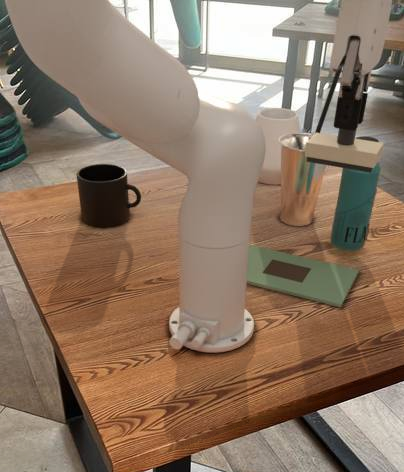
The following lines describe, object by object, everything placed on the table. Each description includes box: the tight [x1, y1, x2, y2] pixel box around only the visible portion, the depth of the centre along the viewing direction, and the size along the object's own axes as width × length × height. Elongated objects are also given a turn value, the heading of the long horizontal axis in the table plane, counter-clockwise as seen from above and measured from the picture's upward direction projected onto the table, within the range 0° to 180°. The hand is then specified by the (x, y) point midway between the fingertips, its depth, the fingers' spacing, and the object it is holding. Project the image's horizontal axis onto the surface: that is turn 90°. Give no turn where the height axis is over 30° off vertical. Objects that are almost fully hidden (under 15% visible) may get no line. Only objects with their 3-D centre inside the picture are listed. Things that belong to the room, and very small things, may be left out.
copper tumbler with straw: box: [279, 66, 343, 227], centre depth 105 cm, size 11×11×30 cm
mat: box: [247, 244, 360, 308], centre depth 97 cm, size 12×20×1 cm, turn 65°
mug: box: [76, 163, 142, 228], centre depth 111 cm, size 9×12×9 cm
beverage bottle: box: [329, 135, 382, 252], centre depth 98 cm, size 6×7×20 cm
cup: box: [255, 107, 301, 186], centre depth 127 cm, size 13×13×14 cm
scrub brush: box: [305, 80, 385, 173], centre depth 80 cm, size 5×10×11 cm, turn 65°
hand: (348, 124), depth 80 cm, fingers closed on scrub brush, 2 cm apart
